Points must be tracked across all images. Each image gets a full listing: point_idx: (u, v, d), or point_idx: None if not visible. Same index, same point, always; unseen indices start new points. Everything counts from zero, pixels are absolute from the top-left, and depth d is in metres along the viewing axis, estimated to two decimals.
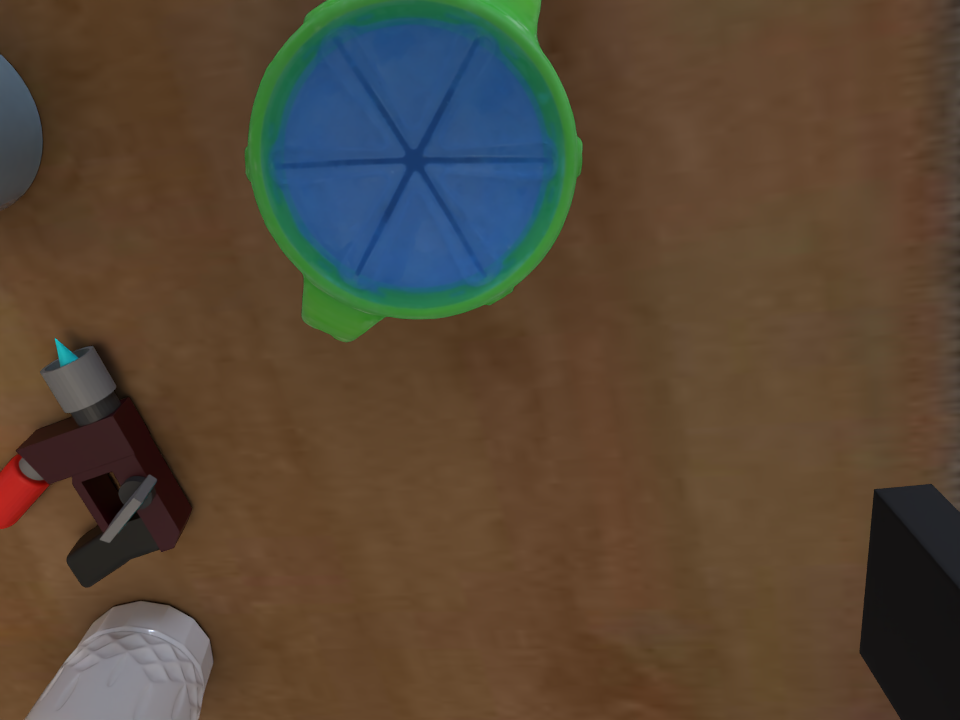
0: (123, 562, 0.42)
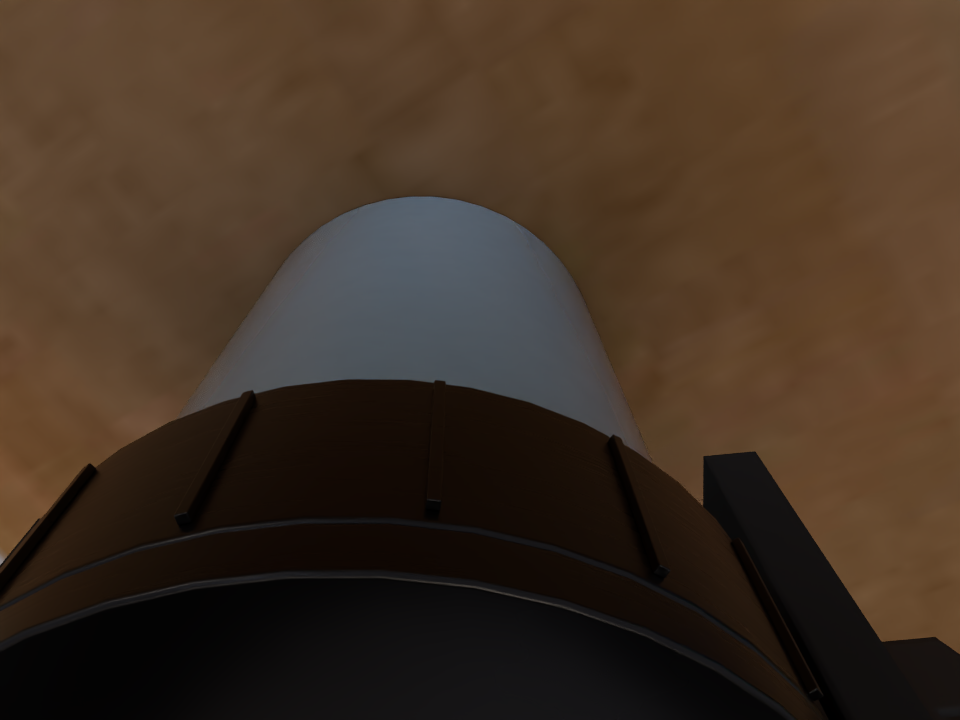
0: None
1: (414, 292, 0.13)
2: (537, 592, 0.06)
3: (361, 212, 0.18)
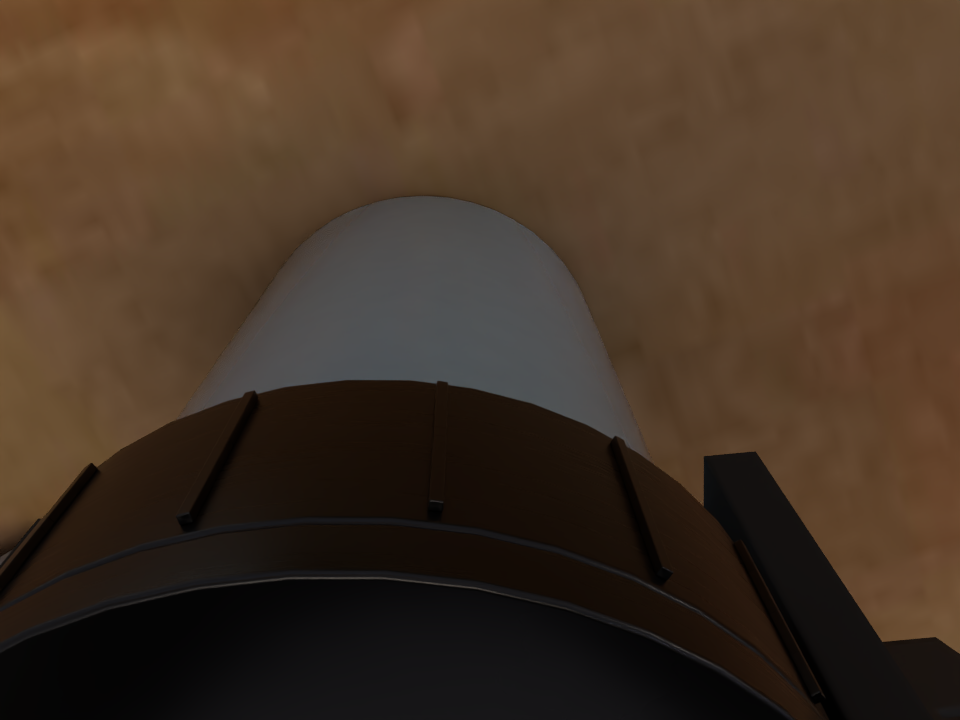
0: None
1: None
2: (540, 594, 0.06)
3: None
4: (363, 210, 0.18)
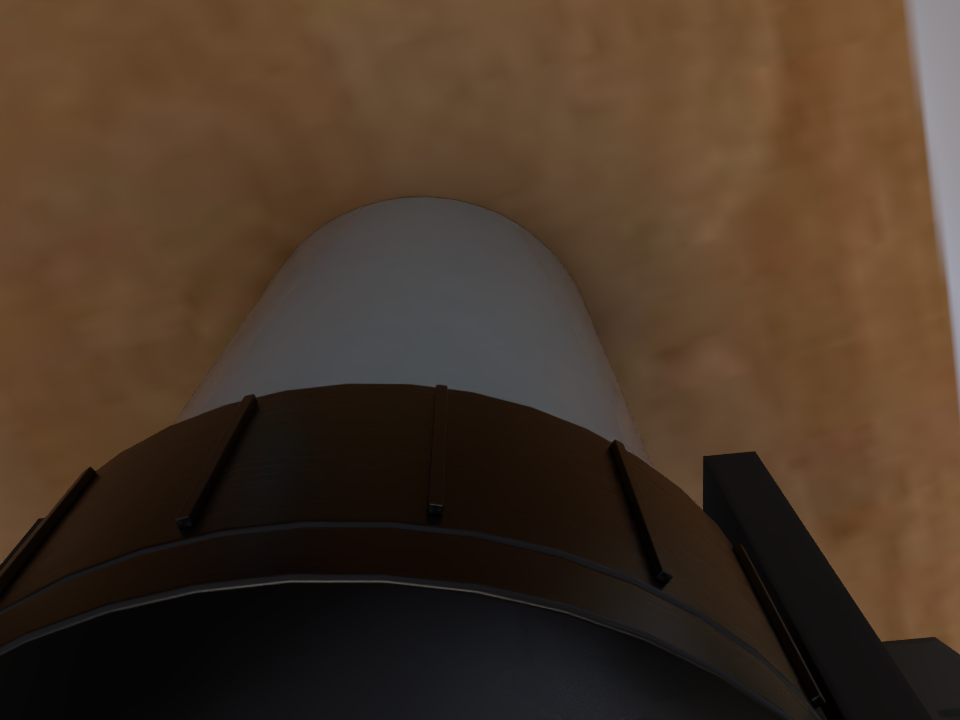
0: None
1: None
2: (540, 597, 0.06)
3: None
4: None
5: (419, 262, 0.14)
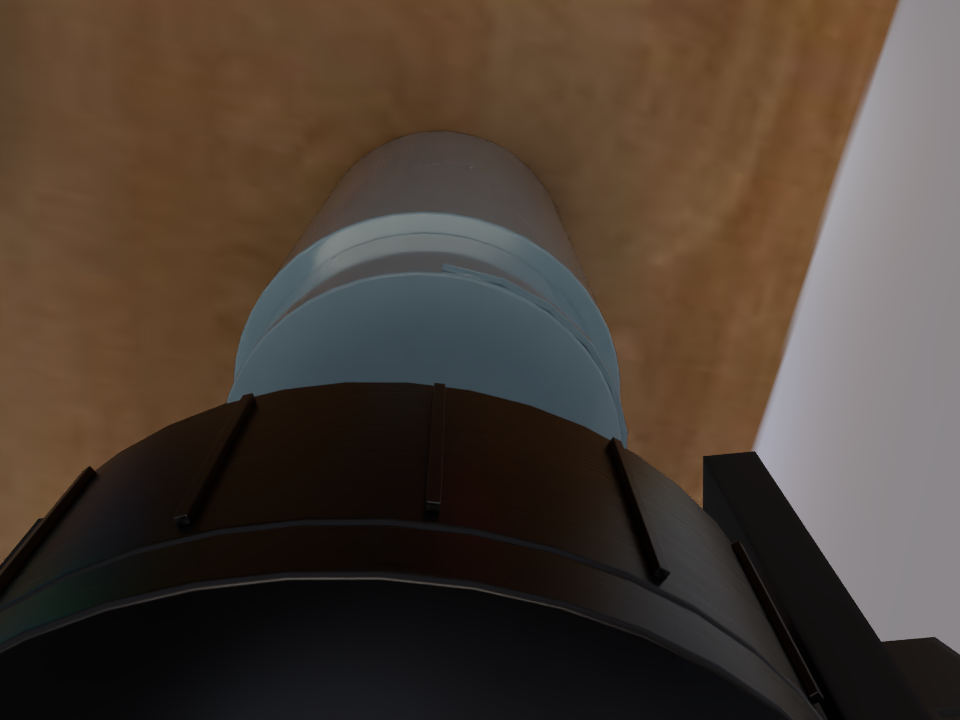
0: None
1: None
2: (537, 594, 0.06)
3: None
4: None
5: (512, 181, 0.22)
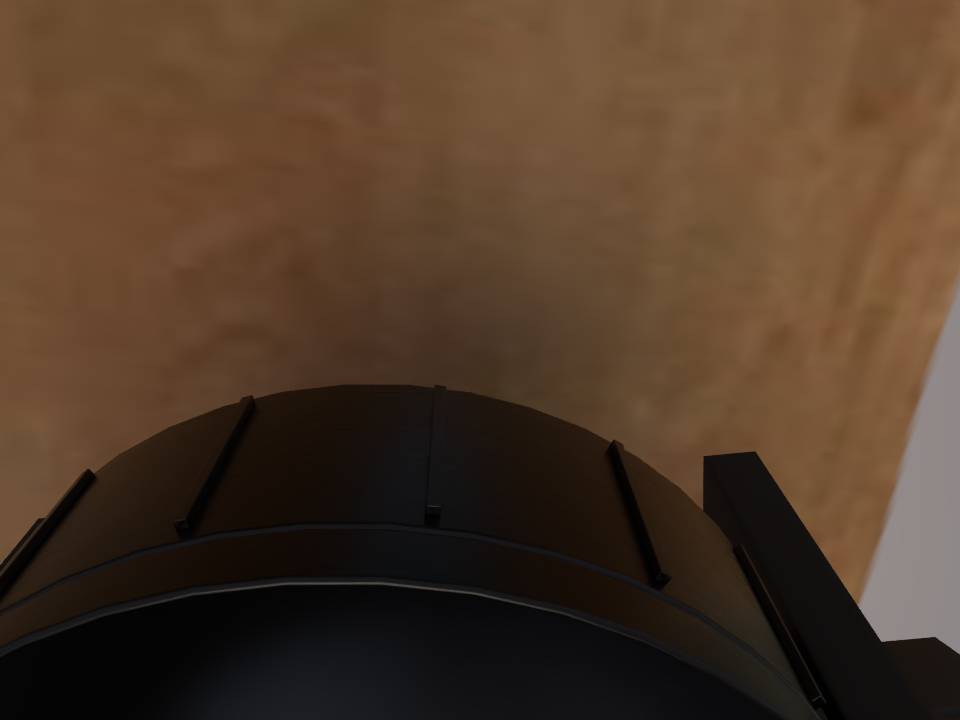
0: None
1: None
2: (538, 599, 0.06)
3: None
4: None
5: None
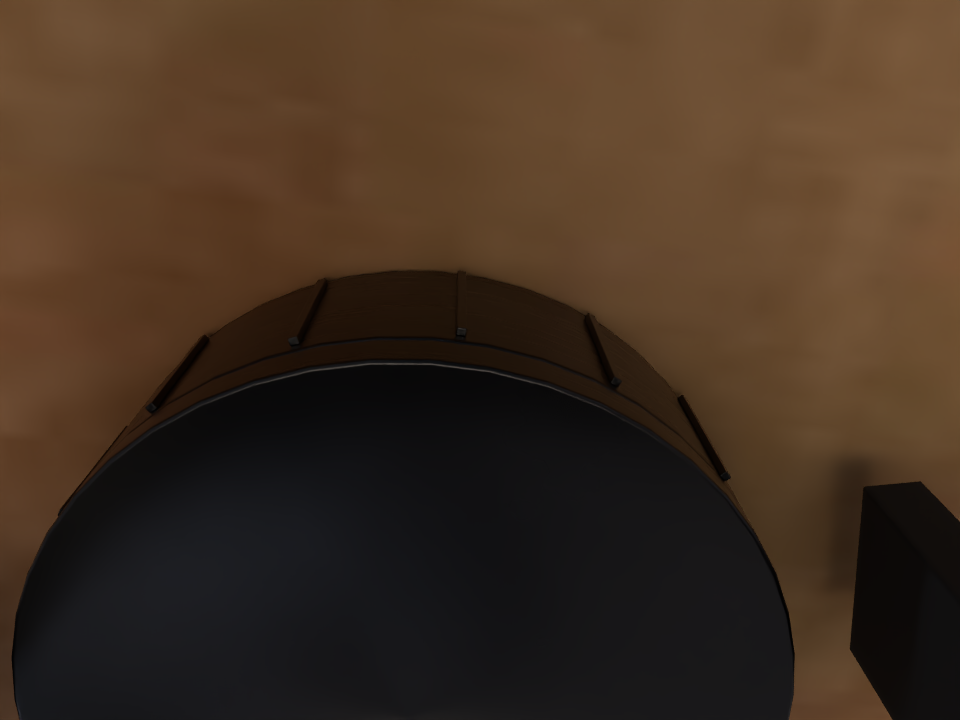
0: None
1: None
2: (530, 377, 0.09)
3: None
4: None
5: None
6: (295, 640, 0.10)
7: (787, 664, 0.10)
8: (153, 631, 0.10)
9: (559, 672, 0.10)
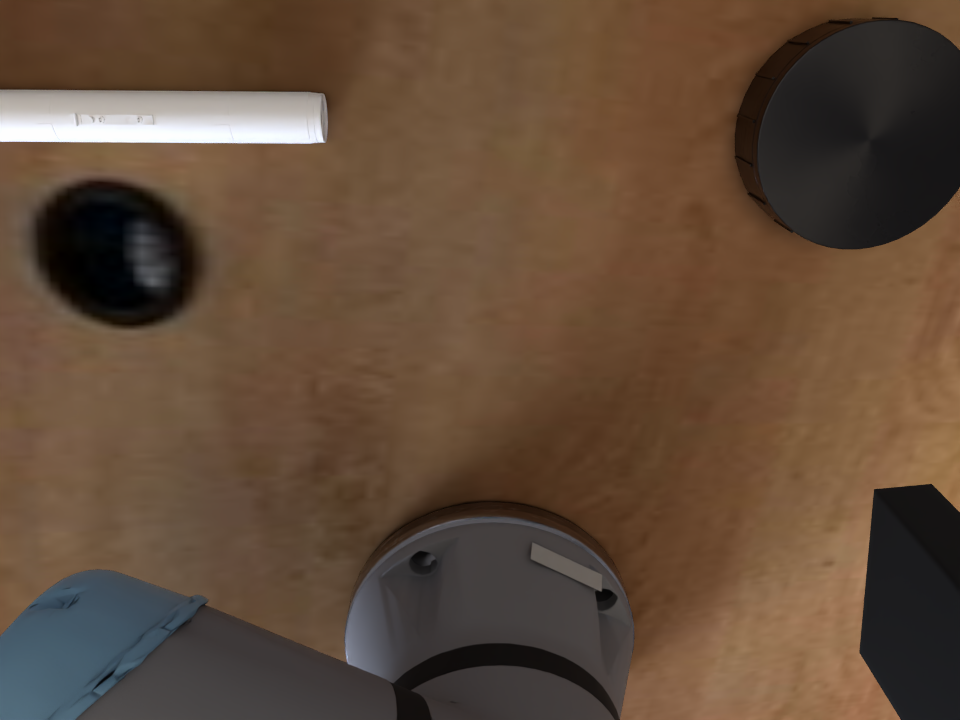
0: None
1: None
2: (922, 25, 0.33)
3: None
4: None
5: None
6: (843, 111, 0.35)
7: None
8: (805, 107, 0.34)
9: (915, 123, 0.35)
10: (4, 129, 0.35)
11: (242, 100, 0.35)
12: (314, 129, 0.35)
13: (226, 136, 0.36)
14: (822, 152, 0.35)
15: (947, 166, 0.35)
